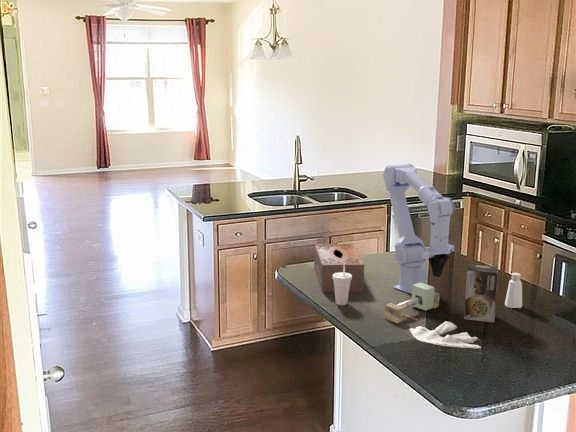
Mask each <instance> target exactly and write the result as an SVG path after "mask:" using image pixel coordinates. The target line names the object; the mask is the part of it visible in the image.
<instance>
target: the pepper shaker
mask: <svg viewBox="0 0 576 432" xmlns="http://www.w3.org/2000/svg"><path fill="white" fill-rule="evenodd" d="M521 278H522V277H521V273H518V272H512V273H511V279H510V280H509V282H508V287H507V291H506V296H505V301H504V305H505V306H506V308H510V309H512V308H519V309H521V308H523V282H522V281H521Z"/></svg>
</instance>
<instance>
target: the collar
mask: <svg viewBox="0 0 576 432" xmlns="http://www.w3.org/2000/svg"><path fill="white" fill-rule="evenodd" d="M435 290H436V289H435V286H432V285H429V284H427V283H426V284H424V283H417V284H414V285H412V294H411V299H413V298H416V297H419V296H421V297H422V302H421V303H418V304H416V305H413V306H412V307H414V308H417V309H420V310H422V311H425V312H427V311H428V310H432V309H434V308H433V304H434V292H435Z"/></svg>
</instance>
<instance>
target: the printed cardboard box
mask: <svg viewBox="0 0 576 432" xmlns="http://www.w3.org/2000/svg"><path fill="white" fill-rule="evenodd" d="M498 275H499V267H498V266H494V265H493V266H492V265H482V264H481V265H480V264H470V263H469V264H467V268H466V281H465V282H466V284H465V299H464V313H463V314H464V315H463V320H469V321H477V322H487V323H495V321H496V320H495V317H496V305H497V304H496V303H497V291H498V277H499V276H498Z"/></svg>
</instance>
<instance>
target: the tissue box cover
mask: <svg viewBox="0 0 576 432" xmlns="http://www.w3.org/2000/svg"><path fill="white" fill-rule="evenodd" d="M313 256H314V261H313V262H314V264H313V265H314V266H313V269H314V271H315V275H316V278H317V282H318V285H319V286H320V287H319V288H320V290H321V292H322V293H335V290H334V280H333V278H332V277H333V274H334V273H338V272H343V262H345V273H349V274H351V275H352V279H351V282H350V288H349V293H350V292H364V284H365V283H364V282H365V264H364V262H363V259H362V258H361V256H360V255H359V253H358V252H357V249H356V248H355V246H354V244H353V243H314V255H313Z"/></svg>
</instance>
